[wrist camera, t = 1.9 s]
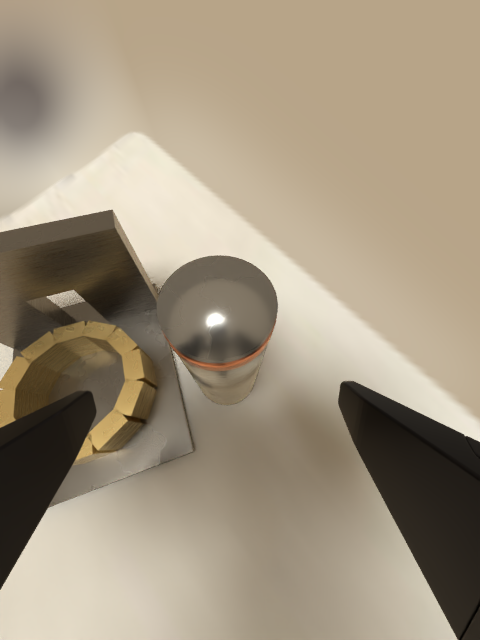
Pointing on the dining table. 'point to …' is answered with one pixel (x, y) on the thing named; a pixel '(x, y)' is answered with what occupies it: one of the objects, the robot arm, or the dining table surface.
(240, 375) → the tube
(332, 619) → the dining table surface
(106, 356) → the collar stand
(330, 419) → the dining table surface
